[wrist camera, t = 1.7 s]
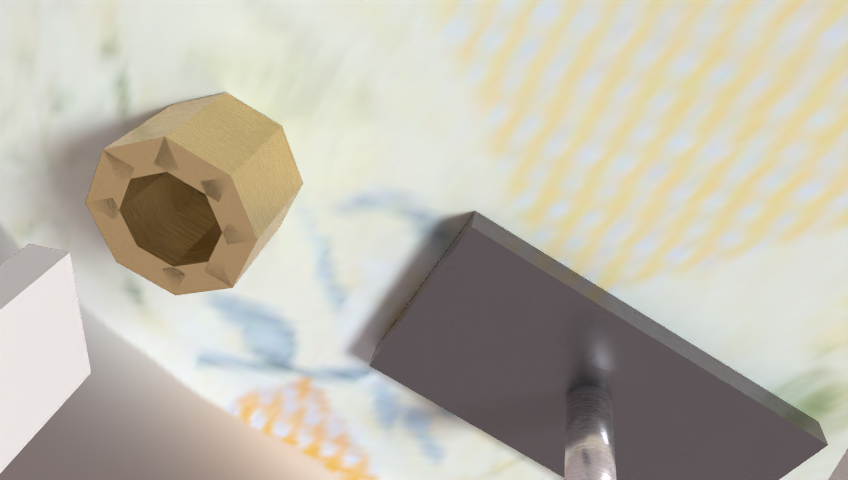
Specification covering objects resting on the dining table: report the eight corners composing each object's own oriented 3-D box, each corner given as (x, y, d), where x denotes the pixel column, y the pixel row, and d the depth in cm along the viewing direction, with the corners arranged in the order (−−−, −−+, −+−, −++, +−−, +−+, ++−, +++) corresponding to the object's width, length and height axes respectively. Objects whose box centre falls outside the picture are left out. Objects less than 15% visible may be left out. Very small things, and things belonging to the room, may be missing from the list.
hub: (141, 184, 35) (73, 237, 30) (185, 67, 31) (116, 108, 27) (264, 255, 36) (216, 318, 31) (320, 150, 32) (276, 203, 27)
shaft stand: (376, 347, 37) (334, 452, 31) (475, 211, 32) (450, 303, 26) (680, 523, 39) (700, 655, 33) (818, 422, 34) (874, 555, 28)
